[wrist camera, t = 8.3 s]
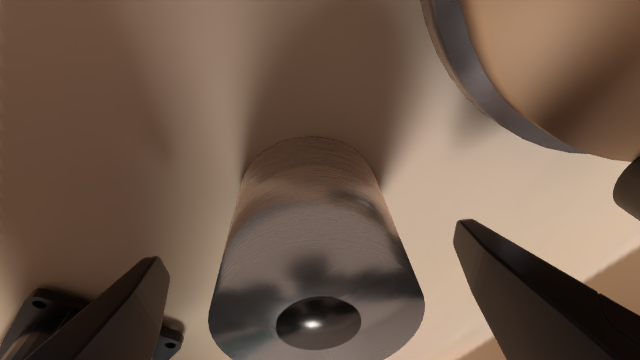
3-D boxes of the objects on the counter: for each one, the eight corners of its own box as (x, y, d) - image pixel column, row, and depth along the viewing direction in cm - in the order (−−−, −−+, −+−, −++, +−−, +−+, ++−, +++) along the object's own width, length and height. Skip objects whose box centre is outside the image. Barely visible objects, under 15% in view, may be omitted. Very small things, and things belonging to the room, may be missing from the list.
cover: (318, 264, 13) (330, 395, 9) (213, 209, 12) (167, 345, 7) (404, 187, 12) (469, 308, 7) (296, 105, 10) (299, 208, 5)
